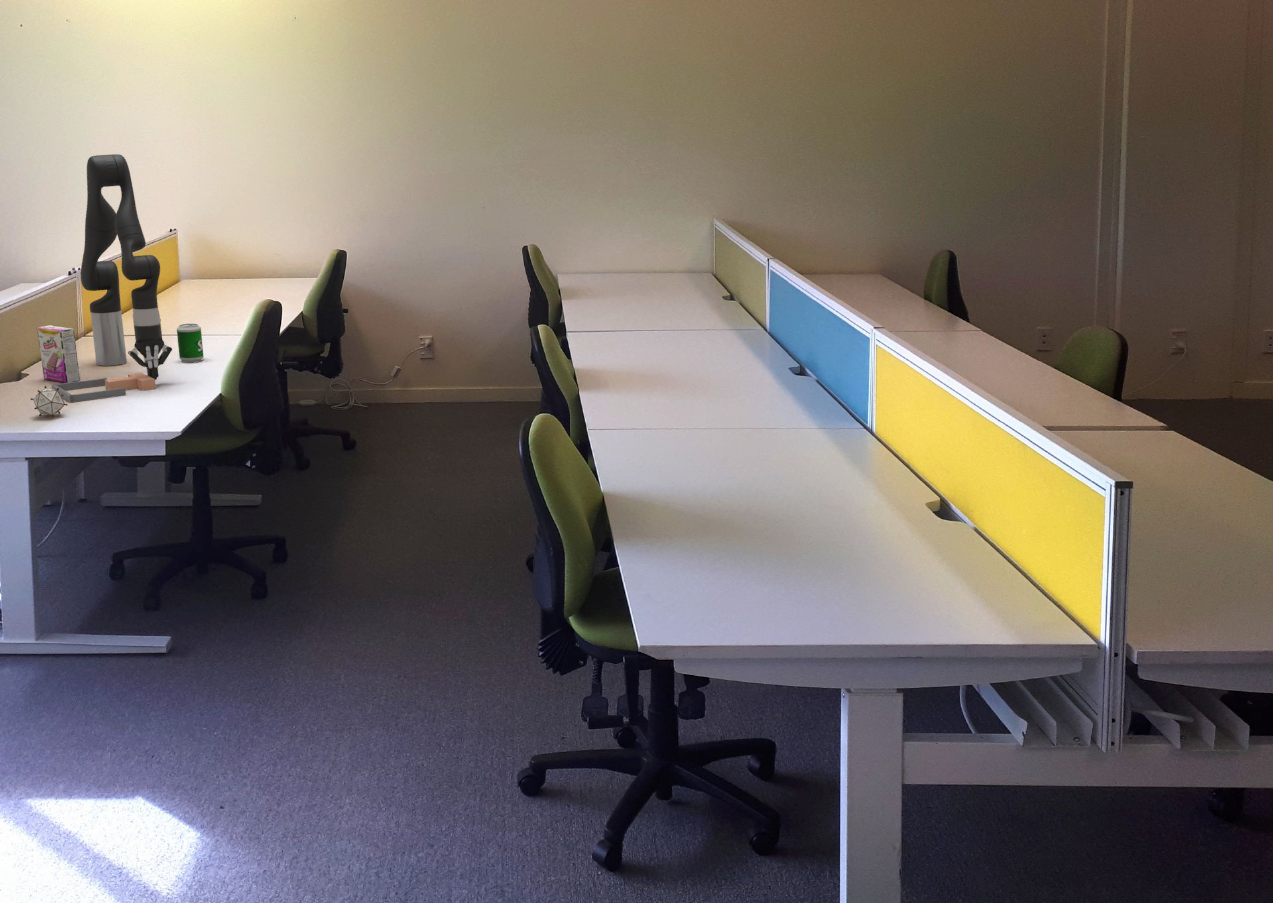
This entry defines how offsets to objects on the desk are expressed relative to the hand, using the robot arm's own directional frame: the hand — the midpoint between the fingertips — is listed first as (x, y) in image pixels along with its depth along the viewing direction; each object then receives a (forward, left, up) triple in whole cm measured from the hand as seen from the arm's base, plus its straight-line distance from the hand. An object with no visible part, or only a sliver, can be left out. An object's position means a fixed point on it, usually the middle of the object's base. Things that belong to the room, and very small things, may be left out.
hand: (153, 379), depth 368 cm
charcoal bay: (0, -18, -2) cm, 18 cm away
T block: (0, -8, -2) cm, 8 cm away
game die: (+22, -35, -2) cm, 41 cm away
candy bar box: (-23, -20, -2) cm, 31 cm away
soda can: (-28, +22, -2) cm, 36 cm away
